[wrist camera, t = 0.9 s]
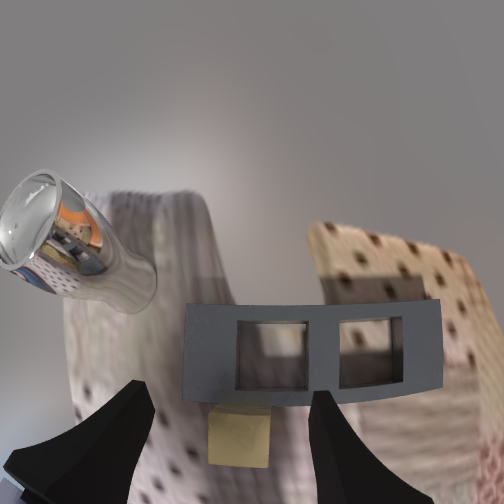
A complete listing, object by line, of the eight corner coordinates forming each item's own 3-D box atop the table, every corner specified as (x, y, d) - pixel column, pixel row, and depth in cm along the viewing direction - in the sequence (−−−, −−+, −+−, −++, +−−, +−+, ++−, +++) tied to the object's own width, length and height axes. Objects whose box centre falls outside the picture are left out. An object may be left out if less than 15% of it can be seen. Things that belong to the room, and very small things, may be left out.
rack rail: (429, 385, 20) (442, 387, 18) (190, 395, 22) (182, 399, 20) (427, 304, 23) (439, 298, 20) (194, 308, 25) (186, 303, 22)
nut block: (269, 442, 20) (268, 468, 14) (223, 440, 20) (208, 463, 15) (271, 401, 21) (270, 416, 16) (224, 399, 22) (208, 412, 16)
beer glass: (167, 310, 25) (57, 254, 11) (106, 324, 25) (-14, 285, 11) (156, 243, 27) (70, 148, 13) (100, 261, 27) (1, 190, 13)
